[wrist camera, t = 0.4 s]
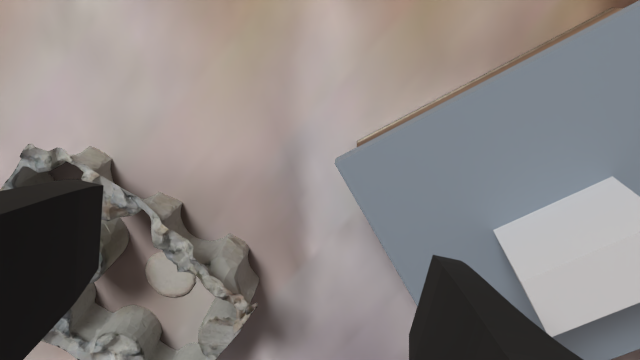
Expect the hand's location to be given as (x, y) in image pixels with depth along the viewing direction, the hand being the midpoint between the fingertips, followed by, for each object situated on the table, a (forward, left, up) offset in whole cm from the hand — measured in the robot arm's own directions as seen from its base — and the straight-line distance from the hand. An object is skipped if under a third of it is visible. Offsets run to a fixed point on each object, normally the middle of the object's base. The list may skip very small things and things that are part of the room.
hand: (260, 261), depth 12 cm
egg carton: (-1, +9, -11) cm, 14 cm away
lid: (-6, -7, -7) cm, 11 cm away
